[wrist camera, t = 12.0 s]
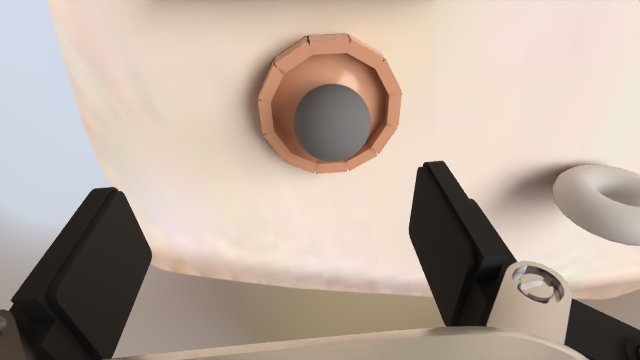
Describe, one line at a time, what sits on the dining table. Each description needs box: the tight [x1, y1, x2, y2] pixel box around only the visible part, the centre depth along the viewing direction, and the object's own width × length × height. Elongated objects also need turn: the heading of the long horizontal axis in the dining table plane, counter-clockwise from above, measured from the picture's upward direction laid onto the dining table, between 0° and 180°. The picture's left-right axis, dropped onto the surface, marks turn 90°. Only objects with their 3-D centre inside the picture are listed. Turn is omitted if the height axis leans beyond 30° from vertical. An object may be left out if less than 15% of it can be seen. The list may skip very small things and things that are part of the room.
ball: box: [294, 84, 371, 162], centre depth 27 cm, size 6×6×6 cm
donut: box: [552, 164, 640, 246], centre depth 32 cm, size 10×3×10 cm, turn 90°
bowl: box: [258, 34, 402, 174], centre depth 30 cm, size 12×12×2 cm
